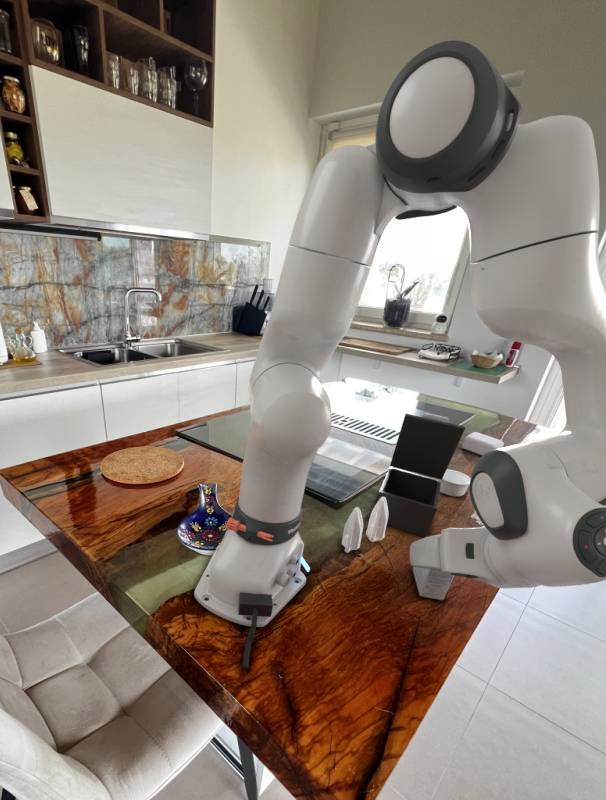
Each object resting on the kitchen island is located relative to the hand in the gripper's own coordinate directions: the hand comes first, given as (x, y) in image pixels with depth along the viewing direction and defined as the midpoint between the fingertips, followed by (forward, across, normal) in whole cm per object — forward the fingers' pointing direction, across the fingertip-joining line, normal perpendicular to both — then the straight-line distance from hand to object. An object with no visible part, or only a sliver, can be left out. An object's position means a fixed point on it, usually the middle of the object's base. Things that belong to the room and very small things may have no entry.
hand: (454, 564), depth 71 cm
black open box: (+28, -2, -15) cm, 32 cm away
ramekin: (+40, -20, -26) cm, 51 cm away
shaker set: (+19, +10, -5) cm, 22 cm away
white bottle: (+61, -45, -47) cm, 89 cm away
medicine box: (+10, 0, +3) cm, 11 cm away
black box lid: (+20, -4, -29) cm, 36 cm away
